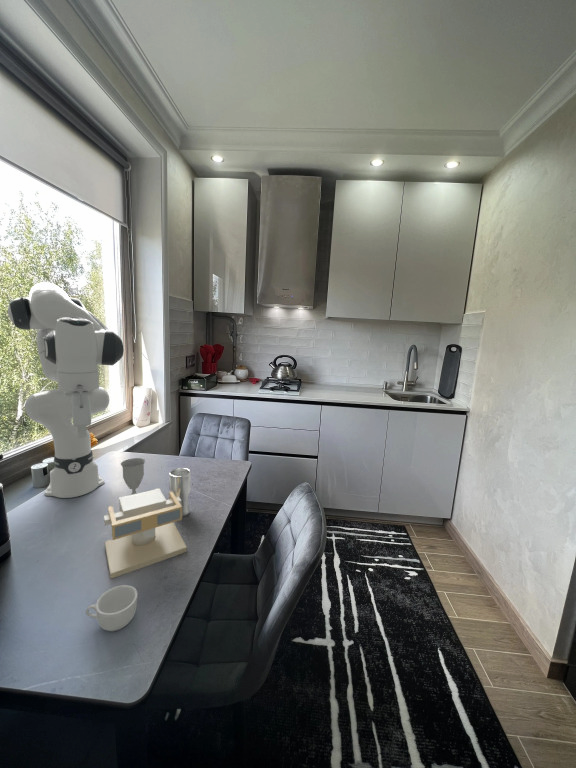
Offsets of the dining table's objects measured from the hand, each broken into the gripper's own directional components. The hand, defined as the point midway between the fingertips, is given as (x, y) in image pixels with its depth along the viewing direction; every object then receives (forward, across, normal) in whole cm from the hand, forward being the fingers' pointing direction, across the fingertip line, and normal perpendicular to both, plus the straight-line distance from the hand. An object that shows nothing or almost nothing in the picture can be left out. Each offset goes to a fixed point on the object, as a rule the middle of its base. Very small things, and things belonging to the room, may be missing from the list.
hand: (81, 433), depth 83 cm
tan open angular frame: (+24, -9, -13) cm, 29 cm away
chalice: (+34, +13, -14) cm, 39 cm away
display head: (+34, -8, -13) cm, 37 cm away
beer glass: (+34, +5, -27) cm, 44 cm away
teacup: (+34, -28, -3) cm, 44 cm away
